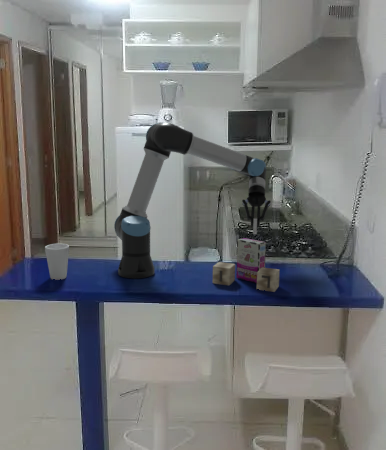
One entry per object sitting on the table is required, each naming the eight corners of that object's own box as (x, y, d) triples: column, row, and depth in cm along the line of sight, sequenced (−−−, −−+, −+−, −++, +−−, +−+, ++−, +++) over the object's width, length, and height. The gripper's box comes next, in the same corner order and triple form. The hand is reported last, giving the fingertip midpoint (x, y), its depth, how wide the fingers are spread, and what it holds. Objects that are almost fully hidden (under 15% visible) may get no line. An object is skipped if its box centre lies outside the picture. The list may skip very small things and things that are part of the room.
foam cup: (75, 275, 200) (74, 245, 198) (60, 282, 192) (58, 250, 189) (56, 272, 204) (55, 242, 202) (41, 278, 196) (39, 247, 193)
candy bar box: (265, 281, 196) (267, 241, 193) (257, 284, 193) (259, 243, 189) (243, 275, 204) (244, 237, 200) (235, 278, 200) (236, 239, 197)
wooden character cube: (212, 283, 193) (212, 266, 192) (218, 278, 200) (218, 261, 198) (228, 285, 191) (229, 268, 189) (234, 280, 197) (235, 263, 196)
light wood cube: (256, 289, 187) (257, 272, 185) (261, 284, 193) (261, 267, 192) (274, 292, 184) (275, 274, 182) (278, 286, 190) (279, 269, 189)
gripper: (271, 194, 225) (269, 237, 213) (242, 193, 227) (239, 236, 214) (271, 184, 219) (270, 228, 206) (242, 183, 221) (239, 227, 208)
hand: (254, 232), depth 210 cm, fingers closed
